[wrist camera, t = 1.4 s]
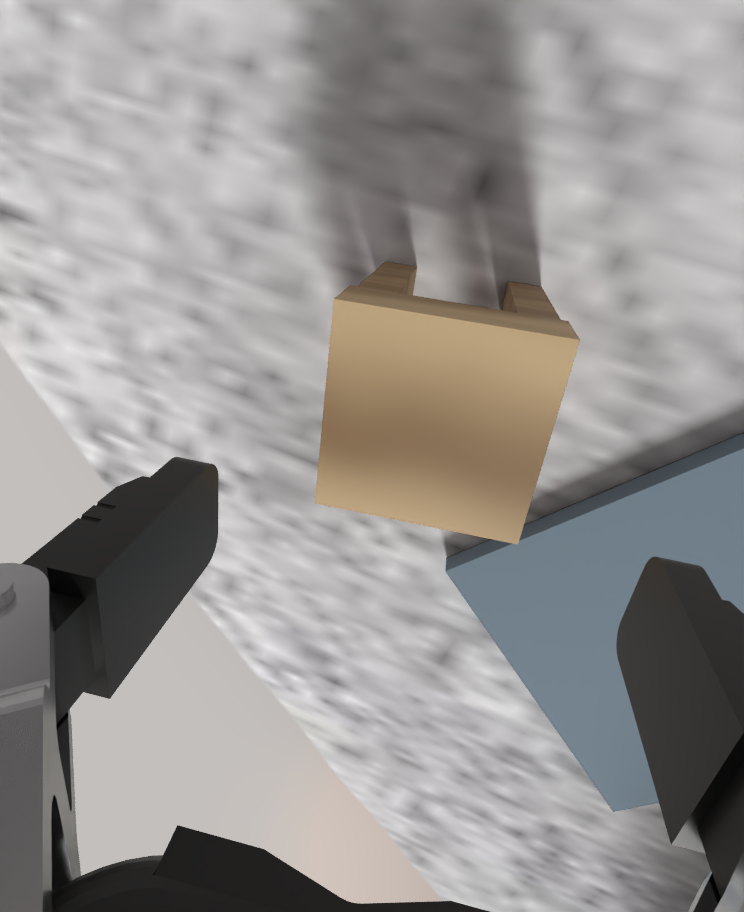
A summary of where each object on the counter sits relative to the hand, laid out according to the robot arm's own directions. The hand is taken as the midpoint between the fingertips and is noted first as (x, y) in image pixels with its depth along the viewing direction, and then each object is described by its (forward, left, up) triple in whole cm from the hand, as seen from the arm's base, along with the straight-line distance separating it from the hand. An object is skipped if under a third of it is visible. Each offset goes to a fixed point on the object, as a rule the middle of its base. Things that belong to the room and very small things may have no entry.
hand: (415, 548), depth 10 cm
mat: (+12, +13, -13) cm, 22 cm away
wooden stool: (0, 0, -13) cm, 13 cm away
